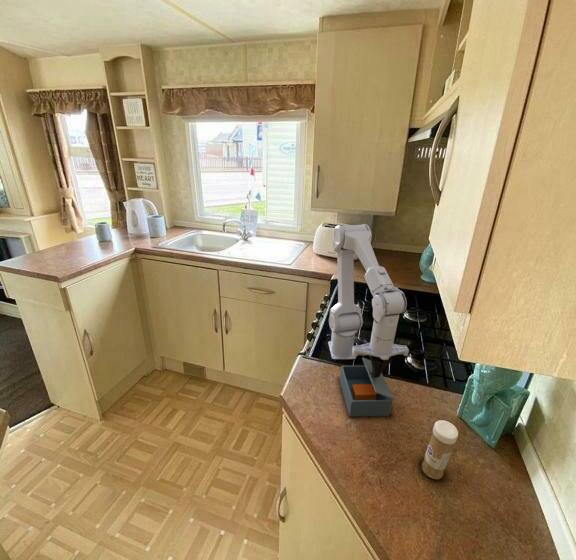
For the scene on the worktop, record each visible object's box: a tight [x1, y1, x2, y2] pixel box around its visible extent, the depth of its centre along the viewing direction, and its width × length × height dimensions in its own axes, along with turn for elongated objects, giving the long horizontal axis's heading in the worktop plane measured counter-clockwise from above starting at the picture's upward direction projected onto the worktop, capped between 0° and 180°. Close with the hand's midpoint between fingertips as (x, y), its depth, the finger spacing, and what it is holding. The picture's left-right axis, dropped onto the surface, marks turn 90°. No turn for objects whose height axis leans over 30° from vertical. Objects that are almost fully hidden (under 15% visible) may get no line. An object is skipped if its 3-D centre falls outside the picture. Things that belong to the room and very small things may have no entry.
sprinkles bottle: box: [421, 419, 459, 480], centre depth 67 cm, size 5×5×14 cm
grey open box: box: [339, 364, 394, 418], centre depth 88 cm, size 14×11×5 cm
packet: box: [351, 384, 377, 400], centre depth 89 cm, size 6×4×2 cm, turn 93°
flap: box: [361, 357, 394, 400], centre depth 87 cm, size 14×5×1 cm, turn 3°
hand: (375, 375), depth 86 cm, fingers closed
